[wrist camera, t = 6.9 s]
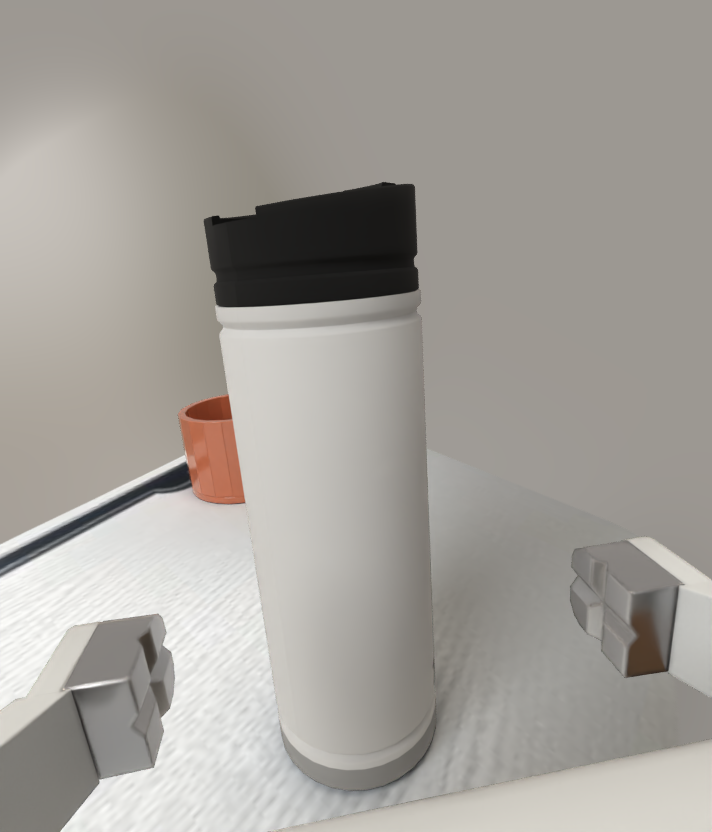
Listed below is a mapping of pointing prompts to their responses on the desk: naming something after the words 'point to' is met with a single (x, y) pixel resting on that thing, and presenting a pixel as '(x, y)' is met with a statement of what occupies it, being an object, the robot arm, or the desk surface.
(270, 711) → the desk surface
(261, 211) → the travel mug
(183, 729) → the desk surface
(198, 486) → the holder
